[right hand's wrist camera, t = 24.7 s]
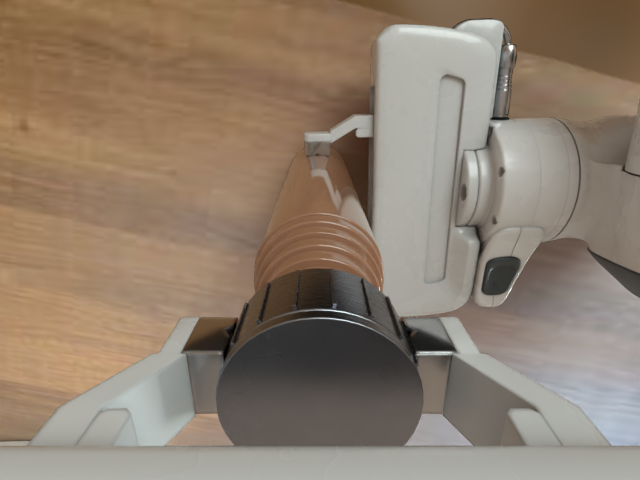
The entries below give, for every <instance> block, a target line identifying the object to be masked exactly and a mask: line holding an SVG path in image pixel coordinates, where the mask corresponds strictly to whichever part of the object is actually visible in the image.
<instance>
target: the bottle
mask: <svg viewBox="0 0 640 480" xmlns="http://www.w3.org/2000/svg"><path fill="white" fill-rule="evenodd" d="M314 268H325V269H330V268H332V269H334V270H340V271H344V272H348V273H351V274H353V275H356V276H358V277H361V278H365V279H366V281H368V282H370V283H371V284H373V285H374V286H375V287H377V288H378V289H379V290H380V291H381V292H382V293H383V285H384V272H383V262H382V257H381V254H380V251H379V248H378V246H377V243H376V241H375V238H374V236H373V233H372V231H371V228H370V225H369V223H368V220H367V218H366V215H365V213H364V210H363V208H362V205H361V203H360V200H359V198H358V195H357V193H356V190H355V188H354V185H353V182H352V180H351V177H350V175H349V172H348V170H347V167H346V165H345V162H344V160H343V158H342V156H341V155H340V154H339V152H337V151H336V150H335V149H334V148H332V147H330V156H321V155H319V154H316V155H315V156H305V152H304V148H303V149H301V150H300V151H299V152H298V153H297V154H296V156H295V157H294V159H293V161H292V164H291V166H290V169H289V172H288V174H287V177H286V179H285V182H284V185H283V187H282V190H281V193H280V195H279V198H278V200H277V203H276V206H275V208H274V211H273V214H272V216H271V219H270V221H269V224H268V227H267V229H266V232H265V235H264V237H263V240H262V242H261V245H260V248H259V250H258V253H257V256H256V261H255V271H254V286H255V294H256V293H257V292H258V291H259V290H260V289H261V288H262V287H264V286H265V285H266V283H267V282H269V283H270V282H271V281H273V280H275V279H277V278H279V277H281V276H283V275H286V274H289V273H291V272H295V271H296V270H304V269H314Z"/></svg>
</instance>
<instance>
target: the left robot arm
mask: <svg viewBox="0 0 640 480" xmlns="http://www.w3.org/2000/svg"><path fill="white" fill-rule="evenodd" d="M503 38H504V41H505V45H502V40H503ZM516 59H517V46H516V45H515V44H512V39H511V34H510V32H509V30H508V28H507V27H506V26H505V25H504V24H503V23H502V22H500V21H498V20H496V19H468V20H464V21H462V22H460V23H458V24H457V25H455V26H454V27H453V28H452V29H451V28H444V27H436V26H427V25H407V24H399V25H391V26H389V27H387V28H385V29H384V30H383V31H382V32H381V33H380V34H379V35H378V36H377V37H376V38H375V40H374V41H373V42H372V44H371V52H370V105H369V114H353V115H351V116H350V117H348V118H347V119H345V120H343V121H342V122H340V123H339V124H337V125H336V126H334V127H333V128H331V129H330V131H320V132H305V133H304V152H305V156H315V155H316V154H319V155H321V156H330V143H333V142H334V141H336V140H337V139H339V138H341V137H342V136H344V135H346V134H347V133H349V132H351V131H352V130H354V134H355V135H356V136H357V137H369V159H368V213H367V220H368V223H369V225H370V228H371V231H372V233H373V236H374V238H375V241H376V243H377V246H378V248H379V251H380V254H381V257H382V262H383V272H384V285H383V294H384V295H385V296H386V297H387V296H388V297H389V298H390V300H391V303H392V305H393V306H394V308H395V310H396V312H397V314H398V317H409V316H422V315H432V314H440V313H445V312H449V311H453V310H455V309H457V308H459V307H461V306H462V305H463V304H465V303H466V302H467V300H468V299H469V297H470V298H471V299H472V300H473V301H474V302H475V303H476V304H477V305H479V306H482V307H496V306H499V305H501V304H502V303H503V302H504V301H505V299H506V298H507V296H508V294H509V292H510V291H511V289H512V287H513V285H514V283H515V281H516V279H517V278H518V276H519V274H520V272H521V271H522V269H523V267H524V266H525V264H526V263H527V261H528V260H529V258H530V257H531V255H532V254H533V252H534V251H535V249H536V248H537V247H538V245H539V244H540V243H542V242H548V241H552V240H556V239H561V238H577V239H580V240H584V241H585V242H586V243H587V244H588V246H589V247H588V251H589V252H590V254H591V255H592V256H593V257H594V258H595V259H596V260H597V261H598V262H599V263H600V264H601V265H602V266H603V267H604V268H605V269H606V270H607V271H608V272H609V273H610V274H611V275H612V276H613V277H615V278H616V279H617V280H618V281H619V282H620V283H621V284H622V285H623V286H624V287H625V288H626V289H627V290H629V291H630V292H631V293H633V294H634V295H636V296H637V297H639V298H640V100H639V105H638V109H637V114H636V115H615V116H606V117H601V118H597V119H594V120H591V121H588V122H581V123H579V122H572V121H569V120H566V119H562V118H554V117H548V118H516V119H514V118H510V119H509V118H508V114H509V107H510V100H511V91H512V89H511V88H512V85H511V84H512V80H511V79H512V74H513V68H514V67H515V64H516ZM490 118H491V119H490Z"/></svg>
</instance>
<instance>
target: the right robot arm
mask: <svg viewBox="0 0 640 480" xmlns="http://www.w3.org/2000/svg"><path fill="white" fill-rule="evenodd" d="M238 321H239V320H238V318H223V317H183V318H181V319H180V320H179V321H178V323H177V324H176V326H175V328H174V329H173V331H172V332H171V334H170V336H169V337H168V339H167V340H166V342H165V343H164V345H163V347H162V348H161V350H160V351H159V353H158V354H151V355H149V356H147V357H146V358H144V359H142V360H140V361H139V362H137V363H135V364H133V365H132V366H130V367H128V368H126V369H125V370H123V371H121V372H119V373H117V374H116V375H114V376H112V377H110V378H109V379H107V380H105V381H103V382H102V383H100V384H98V385H96V386H95V387H93V388H91V389H89V390H88V391H86V392H84V393H82V394H81V395H79V396H77V397H75V398H73V399H72V400H70V401H68V402H66V403H65V404H63V405H61V406H59V407H58V408H57V410H56V411H55V412H54V413H53V414H52V416H51V417H50V418H49V419H48V420H47V422H46V423H45V424H44V425H43V426H42V427H41V429H40V430H39V431H38V432H37V433H36V435H35V436H34V437H33V438H32V439H31V441H4V442H0V480H640V446H612V445H611V444H610V443H609V442H608V440H607V439H606V438H605V437H604V436H603V434H602V433H601V432H600V431H599V430H598V428H597V427H596V426H595V425H594V424H593V422H592V421H591V420H590V419H589V418H588V416H587V415H586V414H585V413H584V411H583V410H582V409H581V408H580V407H579V406H577V405H575V404H573V403H572V402H570V401H568V400H566V399H565V398H563V397H561V396H559V395H558V394H556V393H554V392H552V391H551V390H549V389H547V388H545V387H544V386H542V385H540V384H538V383H537V382H535V381H533V380H531V379H530V378H528V377H526V376H524V375H523V374H521V373H519V372H517V371H516V370H514V369H512V368H510V367H509V366H507V365H505V364H503V363H502V362H500V361H498V360H496V359H495V358H493V357H491V356H489V355H488V354H480V352H479V351H478V349H477V347H476V346H475V344H474V343H473V341H472V339H471V338H470V336H469V335H468V333H467V332H466V330H465V328H464V327H463V325H462V324H461V322H460V320H459V319H458V318H457V317H437V318H400V321H403V323H404V326H405V329H406V332H407V334H408V337H409V340H410V343H411V345H412V348H413V351H414V353H415V356H416V358H417V361H418V364H419V366H418V367H417V370H418V373H419V375H420V378H421V381H422V387H423V408H422V413H430V414H443V416H444V417H445V418H446V419H447V420H448V421H449V422H450V423H451V424H452V425H453V426H454V427H455V428H456V429H457V430H458V431H459V432H460V433H461V434H462V435H463V436H464V437H465V438H466V439H467V440H468V441H469V442H470V443H471V444H472V445H473V446H165V445H166V444H167V443H168V442H169V441H170V440H171V439H172V438H173V437H174V436H175V435H176V434H177V433H179V432H180V431H181V430H182V429H183V428H184V427H185V426H186V425H187V424H188V423H189V422H190V421H191V420H192V419H193V418H194V417H195V416H196V415H195V414H208V413H217V409H216V387H217V383H218V379H219V376H220V375H218V373H219V370H220V367H221V364H224V361H225V359H226V356H227V353H228V350H229V347H230V339H231V337H232V336H233V335H234V332H235V330H236V327H237V324H238Z"/></svg>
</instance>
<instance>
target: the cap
mask: <svg viewBox="0 0 640 480" xmlns="http://www.w3.org/2000/svg"><path fill="white" fill-rule="evenodd" d="M418 366H419V364H418V361H417V358H416V356H415V353H414V351H413V348H412V345H411V343H410V340H409V337H408V334H407V332H406V329H405V326H404V323H403V321H400V320H399V317H398V314H397V312H396V310H395V308H394V306H393V305H392V303H391V300H390V298H389V297H388V296H387V297H386V296H385V295H384V294H383V293H382V292H381V291H380V290H379V289H378V288H377V287H375V286H374V285H373V284H371V283H370V282H368V281H366V279H365V278H361V277H358V276H356V275H353V274H351V273H348V272H344V271H340V270H334V269H332V268H330V269H325V268H314V269H304V270H296V271H295V272H291V273H289V274H286V275H283V276H281V277H279V278H277V279H275V280H273V281H271V282H270V283H269V282H267V283H266V285H265V286H264V287H262V288H261V289H260V290H259V291H258V292H257V293H256V294H255V295H254V296H253V297H252V298H251V299H250V301H249V302H248V303H245V304H244V307H243V310H242V313H241V316H240V318H239V321H238V324H237V327H236V330H235V332H234V335H233V336H232V337H231V339H230V347H229V350H228V353H227V356H226V359H225V361H224V364H221V367H220V370H219V373H218V375H220V376H219V379H218V383H217V387H216V409H217V413H218V417H219V420H220V423H221V425H222V427H223V430H224V431H225V433H226V434H227V436H228V437H229V439H230V440H231V441H232V443H233V444H234V445H235V446H404V445H405V444H406V443H407V441H408V440H409V439H410V437H411V436H412V434H413V433H414V431H415V429H416V427H417V425H418V423H419V420H420V417H421V414H422V408H423V387H422V381H421V378H420V375H419V373H418V370H417V367H418Z"/></svg>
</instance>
